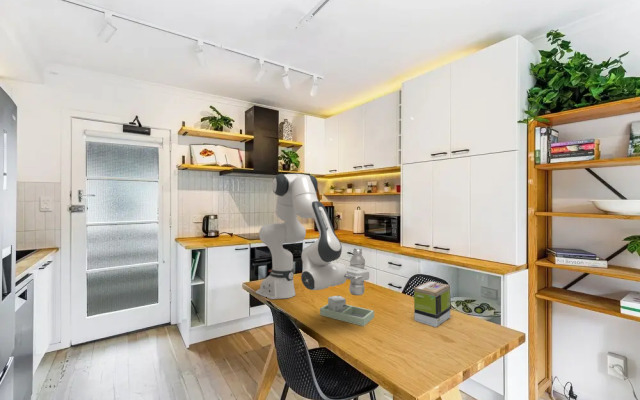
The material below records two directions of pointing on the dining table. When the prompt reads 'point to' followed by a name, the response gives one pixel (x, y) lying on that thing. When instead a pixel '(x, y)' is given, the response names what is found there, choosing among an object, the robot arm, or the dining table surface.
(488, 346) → the dining table surface
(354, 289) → the plastic bottle
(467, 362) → the dining table surface
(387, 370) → the dining table surface
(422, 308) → the tea box
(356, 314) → the tray
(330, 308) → the skincare box
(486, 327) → the dining table surface
